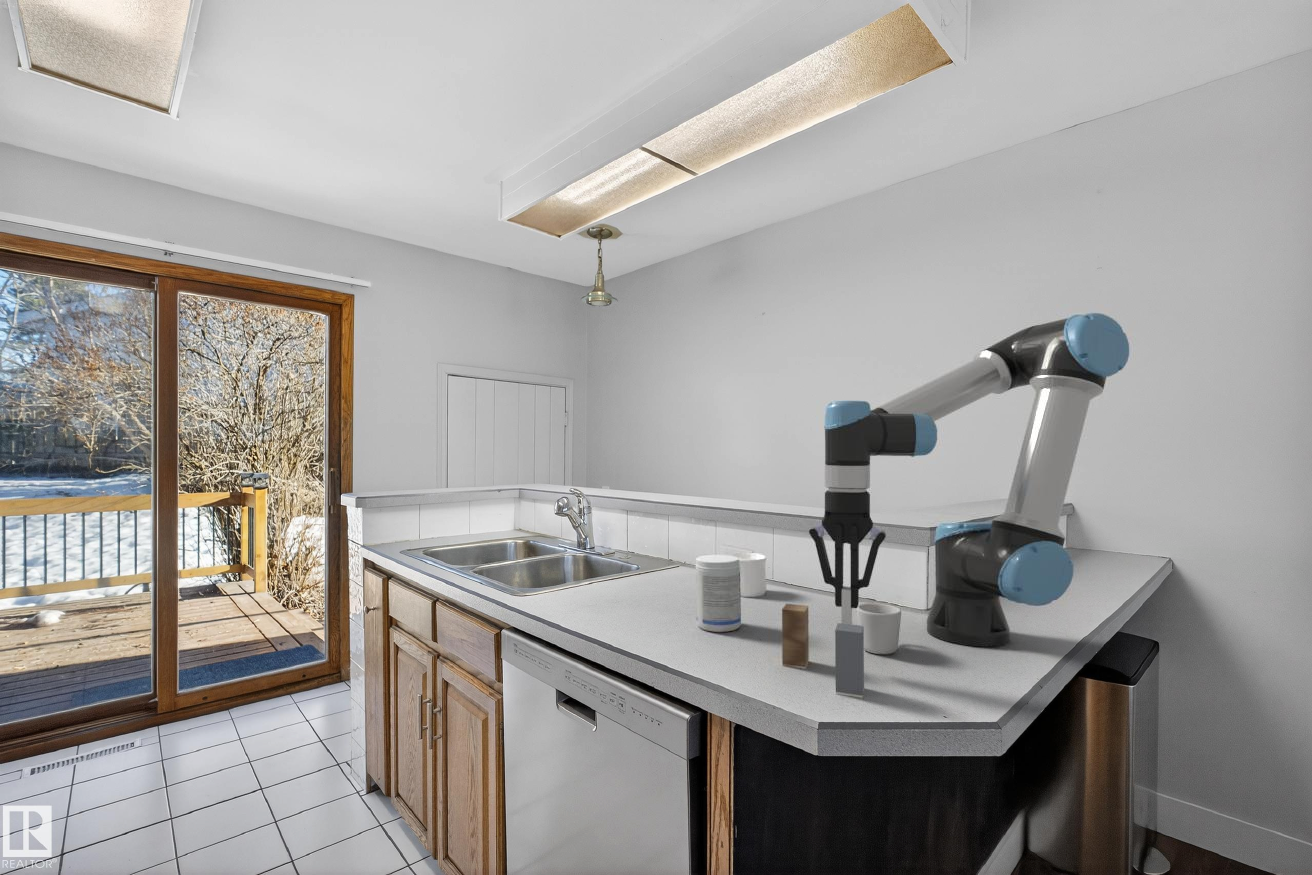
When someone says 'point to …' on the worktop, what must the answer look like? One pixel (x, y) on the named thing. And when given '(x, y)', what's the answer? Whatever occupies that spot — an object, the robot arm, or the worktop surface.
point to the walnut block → (795, 636)
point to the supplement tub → (718, 593)
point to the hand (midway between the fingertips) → (846, 625)
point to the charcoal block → (849, 659)
